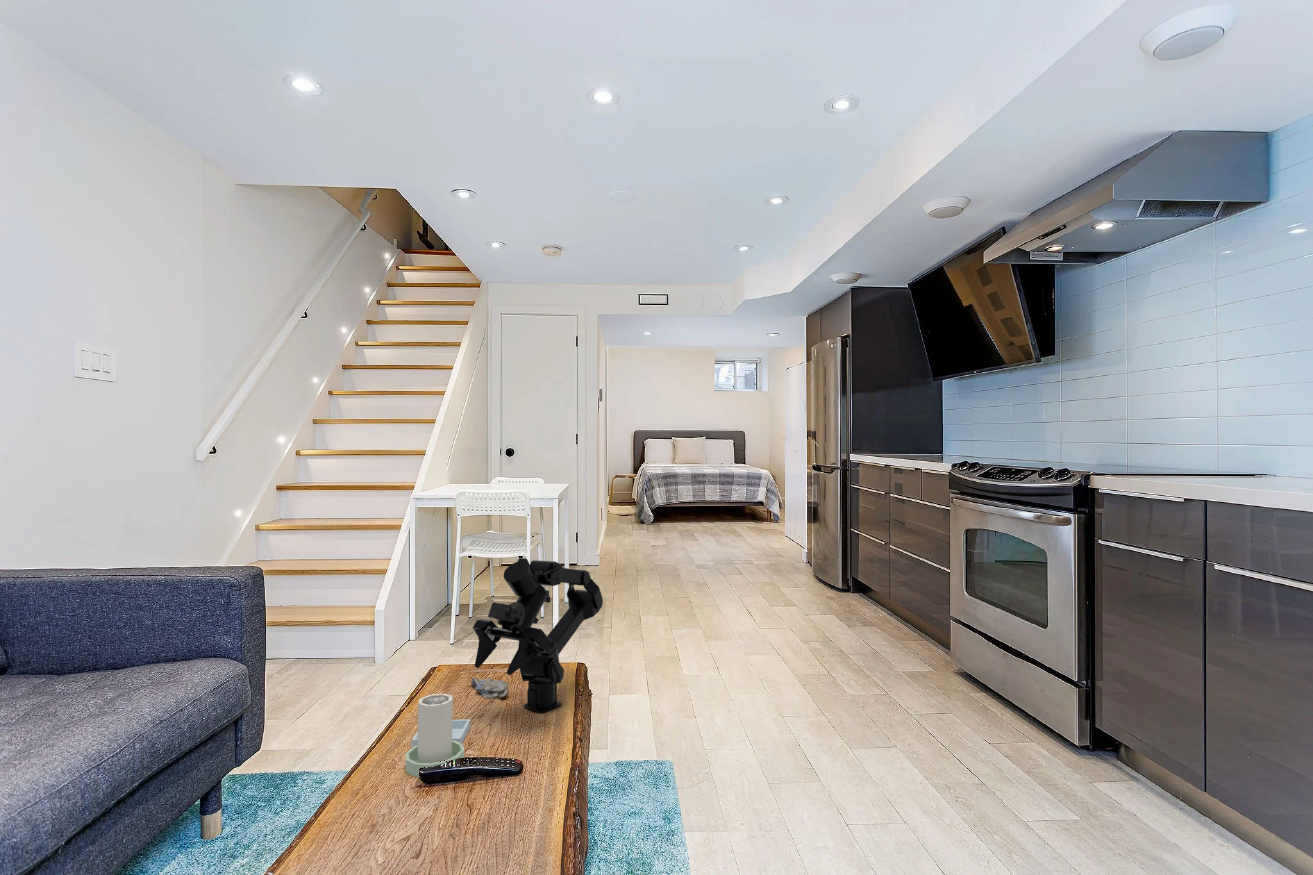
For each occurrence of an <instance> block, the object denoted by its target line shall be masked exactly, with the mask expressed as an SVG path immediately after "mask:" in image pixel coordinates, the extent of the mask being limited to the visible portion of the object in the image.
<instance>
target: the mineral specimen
mask: <svg viewBox="0 0 1313 875" xmlns="http://www.w3.org/2000/svg"><path fill="white" fill-rule="evenodd" d="M470 684H471V685H472V686H473V687H474V690H475V691H478V693H479V694H481V696H482V698H484V699H491V700H494V699H495V700H496V699H498V700H499V699H502V698H503V697H505V696H507V694H508V692H509V690H508V689H507V688H508V686H509V683H508V682H505V681H504V680H498V679H493V678H491V677H488V678H481V679H479V678H477V677H475V678H474V677H472V678H471V682H470Z"/></svg>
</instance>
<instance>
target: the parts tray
mask: <svg viewBox="0 0 1313 875" xmlns="http://www.w3.org/2000/svg"><path fill="white" fill-rule="evenodd" d="M471 721H472V720H471V718H465V719H462V718H461V719H460V718H459V719H452V740H455V741H457V742H459V743H461V744H463V743H464V741H465V739H466V737H467V735H468V733H469V731H470V729H471V725H472V724H471ZM410 744H411V747H410V749H411V748H412V747H414V746H417V745H418V730H417V732H416V733H415V734H414V736H413V737H412V739H411V743H410Z"/></svg>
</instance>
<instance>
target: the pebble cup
mask: <svg viewBox="0 0 1313 875" xmlns="http://www.w3.org/2000/svg"><path fill="white" fill-rule="evenodd" d="M452 720H453V695H451V694H446V693H435V694H429V695H426V696H423V697H421V698H419V700H418V703H417V731H418V763H435V762H440V761H444V760H447V759H450V758H452Z"/></svg>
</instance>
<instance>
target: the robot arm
mask: <svg viewBox="0 0 1313 875" xmlns="http://www.w3.org/2000/svg"><path fill="white" fill-rule="evenodd" d="M590 574H591V573H590V572H589V571H588V570H587V569H577V568H576V569H573V568H567V567H563V564H561V563H559V562H558V561H553V560H552V561H551V560H537V559H534V560H532V561H530V562H529V560H528V559H527V558H524V557H522V558H521V557H518V560H517V561H515V562H513V563H512V564H510V565H508V566H507V567H506V568H505V569H504V572H503V579H504V581H505V582H506V584H507V585H508V586H509V588H510V589H511V590H512V592H513V593H514V595H515V596H517V600H516V601H513V602H512V603H510V604H506V603H499V602H493V601H492V602H491V605H490V607H489V611H488V616H487V617H488V618H489V619H491V618H493V619H495V620H497V621H496V622H497V624H498V625H499V626H501V627H498V626H497V625H496V624H495V622H494V621H493V620H489V619H485V618H483V619H482V618H480V619H477V620H476V621H475V622H474V624H473V626H472V630H473V631H474V632H475V635H476V636H477V638H478V644H477V646H478V647H477V651H476V656H475V661H474V667H475V668H476V669H479V668H480V667H481V666H483V664H484V663H485V662H486V660H487V659H488V658H489V657H490V655H491V654H492V653H493V651H494V650H495V649H496V648H497V647H498V645H497V643H499V642H500V640H501V638H502V639H506V640H507V639H508V640H513V641H518V646H517V647H518V648H517V649H516V651H515V654H514V655H513V657H512V659H511V662H510V664H509V666H508V667H507V670H506V674H507V675H508V676H511V675H513V674H514V673H515V672H517V671H518V670H519V671H520V676H521V680H522V681H523V682H527V683H528V684H527V685H528V688H527V691H526V697H527V698H526V699H527V700H526V702H527V703H524V704H523V707H524V708H525V709H528V710H531V711H534V712H536V713H540V714H544V713H546V712H548V711H551V710H553V709H555V708H556V709H557V708H558V707H560V706H562V702H560V701H558V689H557V688H558V684H561V683H562V680H563V679H564V674H565V669H564V667H563V666H562V664H561V663H560V654H561V652H562V651H563V650H564V648H565V646H566V645H567V644H568V642H569V641H570V640H571V638H573V636H574V634H575V633H576V632H577V630H578V629H579V627H580V626H581V625H582V623H583V622H584V621H586V620H589V619H591V618H594V616H596V615H597V614H598V613H599V612H600V610H601V609H602V607H603V604H604V600H603V599H604V598H603V595H602V592H601V589H600V586H599V585H598V584H597V583H596V581H594V580H593V579H592V578H591V575H590ZM561 584H568V590H567V592H566V597H567V600H568V609H567V610H566V611H565V613H564V614H563V616H562V617H561V618H560V619H559V620H558V622H557V623H556V625H554V627H553V628H552V629H551V631H550V632H549V633H548V634H546V633H545V632H544V630H543V629H542V628H538V627H532V625H533V624H534V625H537V624H538V622H539V619H538V618H537V616H538V614H539V612H540V611H541V609H542V607H543V605H544V604H545V603H548V604H549V603H551V596H550V590H547V589H546V588H545V587H544V586H547V587H549V586H550V587H555V586H558V585H559V586H560V585H561ZM575 586H582V587H583V588H584V589H575Z"/></svg>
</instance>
